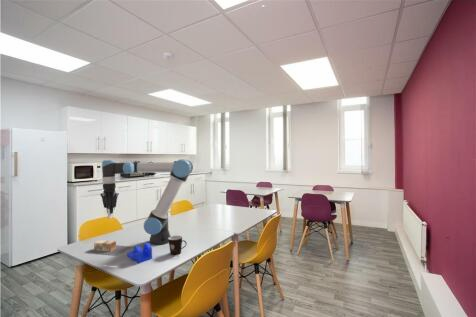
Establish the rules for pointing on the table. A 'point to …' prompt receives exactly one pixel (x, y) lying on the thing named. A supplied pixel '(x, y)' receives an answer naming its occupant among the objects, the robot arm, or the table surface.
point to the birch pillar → (105, 245)
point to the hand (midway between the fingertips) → (110, 218)
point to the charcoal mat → (113, 253)
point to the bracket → (141, 253)
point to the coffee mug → (175, 244)
